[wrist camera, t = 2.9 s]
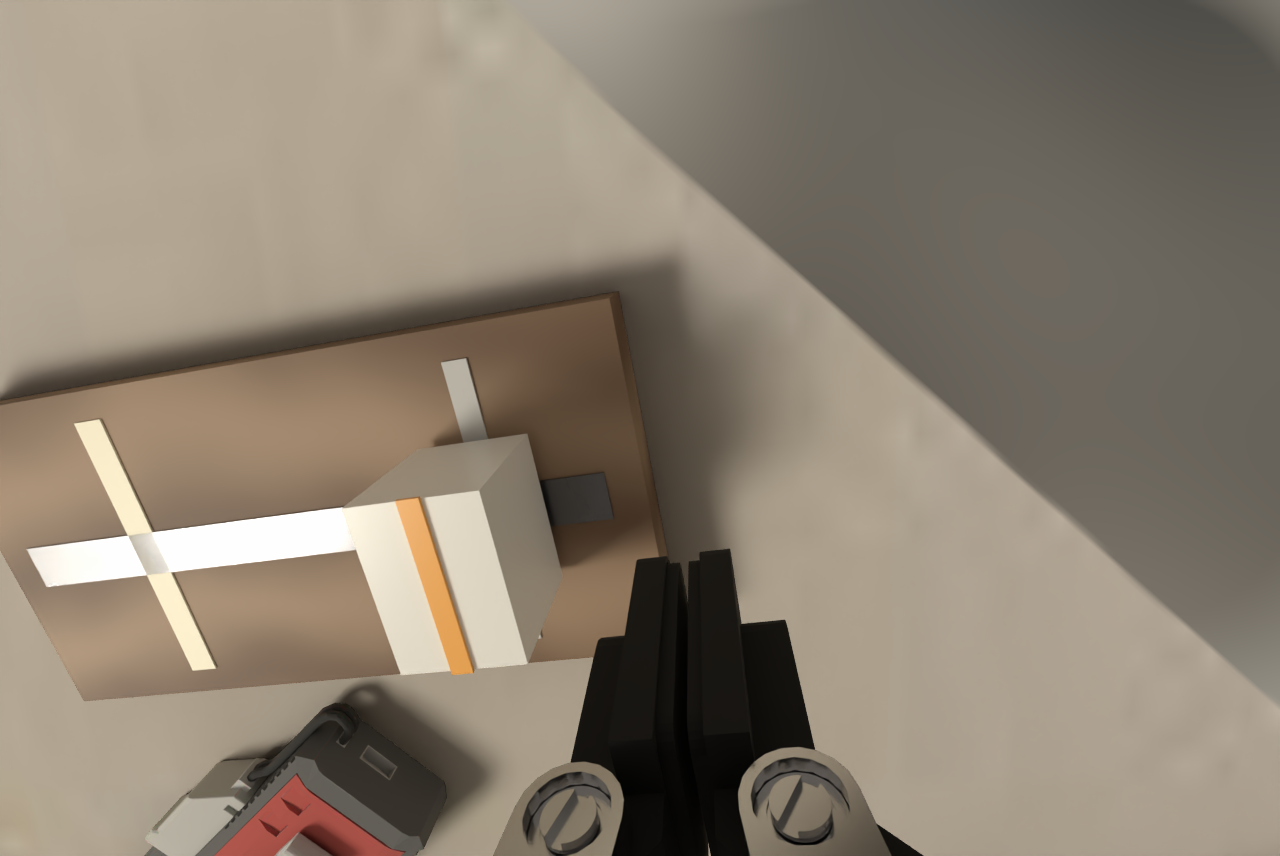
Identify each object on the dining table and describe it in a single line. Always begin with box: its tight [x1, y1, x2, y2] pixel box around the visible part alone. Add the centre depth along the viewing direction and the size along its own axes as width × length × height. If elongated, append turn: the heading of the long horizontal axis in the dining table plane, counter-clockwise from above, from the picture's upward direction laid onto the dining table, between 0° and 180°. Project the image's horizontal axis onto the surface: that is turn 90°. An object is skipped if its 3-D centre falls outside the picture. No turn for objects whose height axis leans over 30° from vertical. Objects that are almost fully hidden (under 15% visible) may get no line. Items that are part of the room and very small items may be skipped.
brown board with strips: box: [0, 291, 668, 701], centre depth 22 cm, size 12×24×2 cm, turn 100°
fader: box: [342, 434, 563, 675], centre depth 17 cm, size 5×4×4 cm
